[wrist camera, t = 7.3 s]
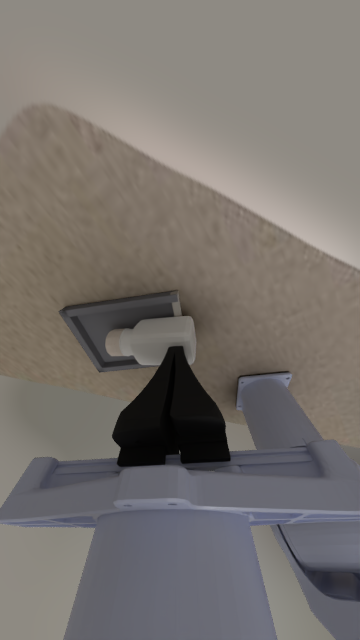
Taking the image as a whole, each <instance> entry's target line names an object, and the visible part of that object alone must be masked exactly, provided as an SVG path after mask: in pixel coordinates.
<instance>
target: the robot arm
mask: <svg viewBox="0 0 360 640" xmlns="http://www.w3.org/2000/svg"><path fill="white" fill-rule="evenodd" d="M291 377H292V374H291V373H289V372H287V373H277V374H266V375H256V376H246V377H240V378H239V382H238V392H237V402H236V409H237V410H242V411H243V414H244V416H245V419H246V422H247V425H248V428H249V430H250V433H251V436H252V439H253V441H254V444H255V446H256V449H257V450H249V451H230V452H229V448H228V444H227V437H226V433H225V427H226V425H225V421H224V418H223V416H222V414H221V412H220V410H219V408H218V407H217V405H216V403H215V402H214V401H213V400H212V399H211V397H210V396H209V395H208V394H207V392H206V391H205V390H204V389H203V387H202V386H201V384H200V383H199V382H198V380H197V378H196V377H195V375H194V373H193V372H192V370H191V368H190V366H189V364H188V361H187V359H186V356H185V353H184V348H183V346H172V347H169V348H168V350H167V352H166V355H165V357H164V359H163V361H162V363H161V365H160V366H159V368H158V370H157V371H156V373H155V375H154V376H153V378H152V379H151V380H150V382H149V383H148V384H147V386H146V387H145V388H144V389H143V390H142V392H141V393H140V394H139V395H138V396H137V397H136V398H135V399H134V400H133V401H132V402H131V403H130V404H129V405H128V406H127V407H126V408H125V409H124V410H123V411H122V412H121V413H120V415H119V418H118V420H117V422H116V425H115V428H114V431H113V434H112V438H113V439H114V441H115V442H116V443H117V444H118V445H119V446H120V447H121V450H120V453H119V457H118V458H110V459H94V460H93V459H92V460H76V461H58V460H57V459H55V458H52V457H40V458H34V459H33V460H32V461H31V463H30V464H29V466H28V467H27V469H26V470H25V472H24V474H23V475H22V477H21V478H20V480H19V481H18V483H17V484H16V486H15V487H14V489H13V490H12V492H11V493H10V495H9V497H8V498H7V499H6V501H5V502H4V504H3V505H2V507H1V508H0V524H7V525H14V526H21V527H83V528H86V527H87V528H88V527H89V528H95V532H94V535H93V539H92V542H91V546H90V549H89V552H88V556H87V559H86V563H85V566H84V570H83V573H82V577H81V580H80V584H79V587H78V591H77V594H76V597H75V601H74V604H73V608H72V611H71V615H70V618H69V622H68V626H67V629H66V632H65V635H64V639H63V640H277V636H276V632H275V628H274V623H273V619H272V615H271V611H270V607H269V603H268V599H267V594H266V591H265V586H264V582H263V578H262V574H261V570H260V566H259V561H258V558H257V553H256V549H255V545H254V541H253V537H252V533H251V528H250V526H255V525H270V526H271V529H272V531H273V533H274V536H275V538H276V540H277V542H278V543H279V545H280V547H281V549H282V550H283V552H284V553H285V555H286V557H287V559H288V561H289V563H290V565H291V567H292V569H293V571H294V573H295V575H296V577H297V580H298V582H299V584H300V586H301V589H302V591H303V593H304V595H305V597H306V599H307V602H308V604H309V607H310V609H311V611H312V612H313V613H314V615H315V616H316V618H317V619H318V620H319V621H320V622H321V623H322V624H323V625H324V627H325V628H326V629H327V630H328V631H329V632H330V634H331V635H332V636H333V637H334V638H335V639H336V640H360V466H359V465H358V464H357V463H356V462H355V461H354V460H353V459H351V458H349V457H348V456H347V454H346V453H345V452H344V450H343V449H342V448H341V447H340V445H339V444H338V443H337V441H335V440H323V438H322V437H321V435H320V434H319V432H318V431H317V430H316V428H315V427H314V425H313V424H312V423H311V421H310V420H309V418H308V417H307V416H306V414H305V413H304V411H303V410H302V408H301V407H300V406H299V404H298V403H297V401H296V400H295V399H294V397H293V396H292V394H291V393H290V392H289V390H288V389H287V387H288V385H289V382H290V380H291ZM179 450H180V454H179Z"/></svg>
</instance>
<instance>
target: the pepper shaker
mask: <svg viewBox="0 0 360 640" xmlns="http://www.w3.org/2000/svg"><path fill="white" fill-rule="evenodd" d="M172 346H183V348H184V353H185V356H186V359H187V361H188V364H189V365H191V364H193V363H194V361H195V355H196V335H195V328H194V321H193V319H192V318H191V316H179V317H167V318H155V319H144V320H141V321H140V322H139V323H138V324H137V325H136V326H135V327H134V329H129V328H125V329H114V330H112V331H110V332H109V333H108V335H107V337H106V342H105V347H106V350H107V353H108V354H110V355H111V356H130V355H134V357H135V359H136V360H137V362H138V363H139V364H141V365H161V363H162V361H163V359H164V357H165V355H166V352H167V350H168V348H169V347H172Z"/></svg>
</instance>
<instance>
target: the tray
mask: <svg viewBox="0 0 360 640" xmlns="http://www.w3.org/2000/svg"><path fill="white" fill-rule="evenodd" d="M58 312H59V313H60V315H61V316H62V318H63V319H64V321H65V322H66V324H67V325H68V327H69V328H70V330H71V331H72V333H73V334H74V336H75V337H76V339H77V340H78V342H79V343H80V345H81V346H82V348H83V349H84V351H85V352H86V354H87V355H88V357H89V358H90V360H91V361H92V362H93V364H94V365H95V367H96V368H97V370H98V371H99V372H108V371H117V370H126V369H136V368H145V367H155V366H160V365H141V364H139V363H138V362H137V360H136V359H135V357H134V355H130V356H111V355H110V354H108V353H107V350H106V347H105V342H106V337H107V335H108V333H109V332H110V331H112V330H114V329H125V328H129V329H134V327H135V326H136V325H137V324H138V323H139V322H140V321H141V320H144V319H155V318H167V317H179V316H182V312H181V306H180V300H179V293H178V290H177V291H171V292H164V293H157V294H150V295H143V296H136V297H130V298H123V299H116V300H109V301H102V302H95V303H88V304H82V305H75V306H68V307H65V308H63V309H62V310H60V311H58Z"/></svg>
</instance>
